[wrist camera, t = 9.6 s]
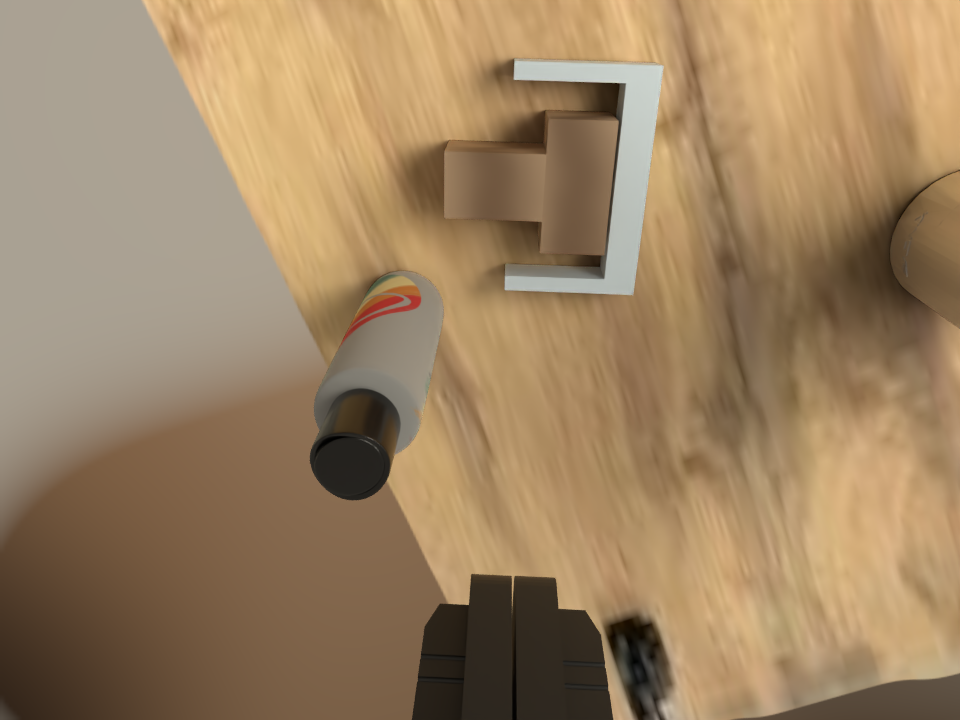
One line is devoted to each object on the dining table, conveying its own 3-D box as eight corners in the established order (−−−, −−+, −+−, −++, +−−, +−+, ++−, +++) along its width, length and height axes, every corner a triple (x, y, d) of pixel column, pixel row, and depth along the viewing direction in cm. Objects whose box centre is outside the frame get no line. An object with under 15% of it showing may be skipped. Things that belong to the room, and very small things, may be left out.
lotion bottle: (358, 272, 49) (272, 423, 31) (439, 265, 49) (398, 413, 31) (372, 345, 52) (300, 524, 34) (449, 339, 51) (417, 517, 33)
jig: (655, 62, 42) (663, 65, 40) (627, 281, 49) (633, 295, 46) (514, 58, 42) (514, 61, 40) (504, 277, 49) (504, 290, 46)
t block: (609, 112, 44) (618, 121, 40) (596, 236, 47) (604, 255, 44) (449, 107, 44) (444, 115, 40) (448, 231, 48) (443, 249, 44)
